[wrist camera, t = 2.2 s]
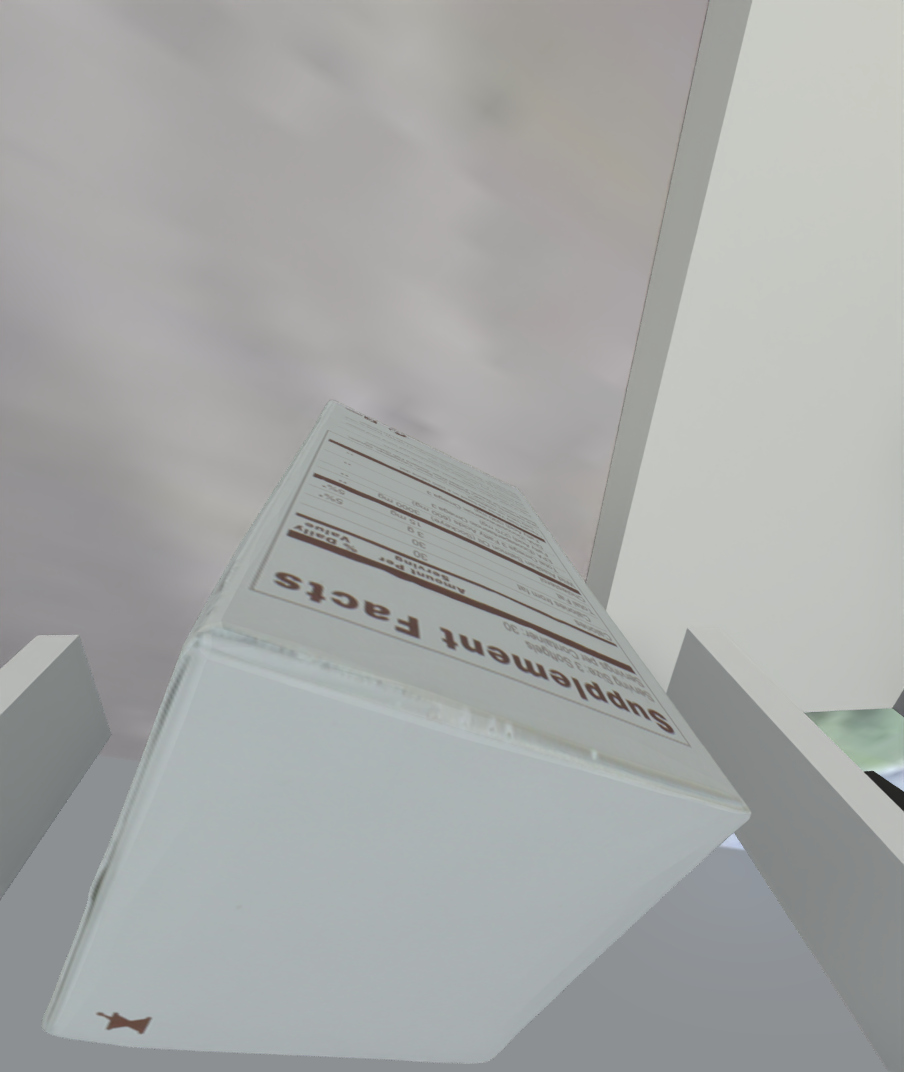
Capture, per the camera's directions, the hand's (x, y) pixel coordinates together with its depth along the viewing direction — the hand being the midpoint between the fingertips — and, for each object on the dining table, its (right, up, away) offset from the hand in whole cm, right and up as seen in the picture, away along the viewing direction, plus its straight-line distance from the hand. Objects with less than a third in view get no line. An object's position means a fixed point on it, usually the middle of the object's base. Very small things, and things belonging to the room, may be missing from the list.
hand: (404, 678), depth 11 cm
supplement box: (-1, +4, +7) cm, 8 cm away
